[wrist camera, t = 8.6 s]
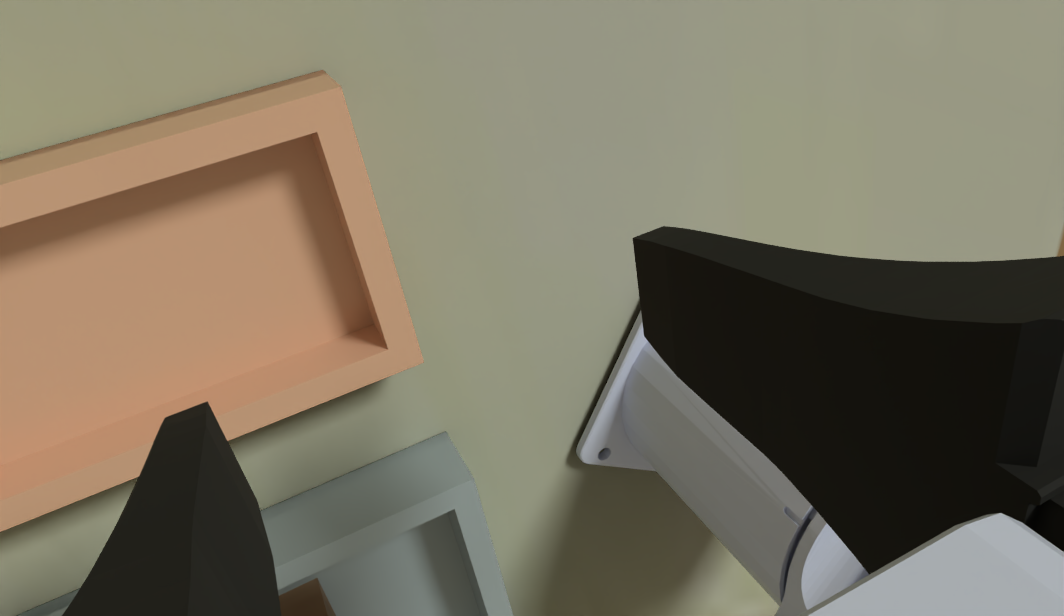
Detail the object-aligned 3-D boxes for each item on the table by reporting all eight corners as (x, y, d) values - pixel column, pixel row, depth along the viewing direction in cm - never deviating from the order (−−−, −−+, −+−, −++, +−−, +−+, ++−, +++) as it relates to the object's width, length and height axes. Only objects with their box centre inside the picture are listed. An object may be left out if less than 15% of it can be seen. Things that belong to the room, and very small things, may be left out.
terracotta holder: (323, 69, 19) (340, 86, 17) (403, 329, 23) (424, 362, 21) (-299, 244, 16) (-348, 285, 14) (-76, 513, 20) (-94, 569, 18)
